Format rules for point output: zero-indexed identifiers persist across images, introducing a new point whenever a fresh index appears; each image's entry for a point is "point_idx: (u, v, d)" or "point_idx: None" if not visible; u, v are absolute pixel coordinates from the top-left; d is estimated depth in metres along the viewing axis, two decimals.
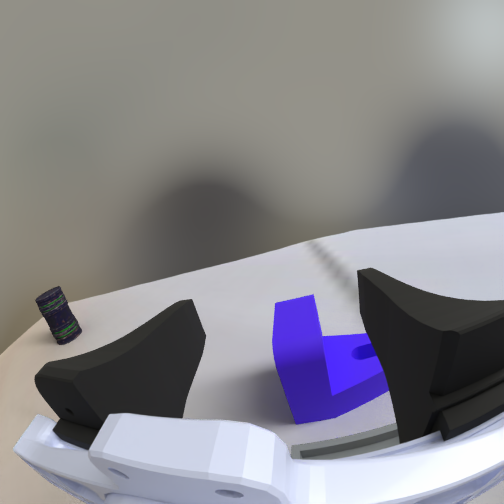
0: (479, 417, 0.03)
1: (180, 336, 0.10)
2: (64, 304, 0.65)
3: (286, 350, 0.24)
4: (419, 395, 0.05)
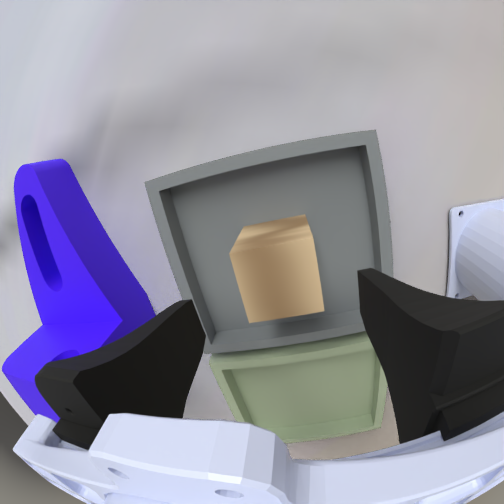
0: (479, 417, 0.03)
1: (180, 336, 0.10)
2: None
3: None
4: (419, 395, 0.05)
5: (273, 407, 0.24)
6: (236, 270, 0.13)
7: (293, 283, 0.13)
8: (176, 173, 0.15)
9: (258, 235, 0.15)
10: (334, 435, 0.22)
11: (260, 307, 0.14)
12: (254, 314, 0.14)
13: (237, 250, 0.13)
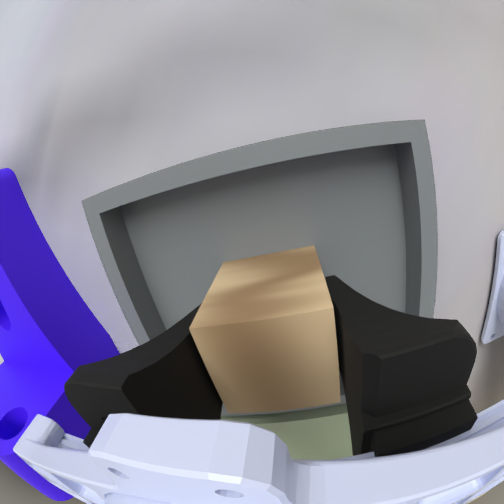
0: (418, 443, 0.04)
1: None
2: None
3: (52, 489, 0.07)
4: (357, 412, 0.05)
5: None
6: (203, 352, 0.08)
7: (296, 371, 0.08)
8: (120, 187, 0.10)
9: (241, 287, 0.09)
10: None
11: (244, 398, 0.08)
12: (234, 405, 0.09)
13: (203, 322, 0.08)
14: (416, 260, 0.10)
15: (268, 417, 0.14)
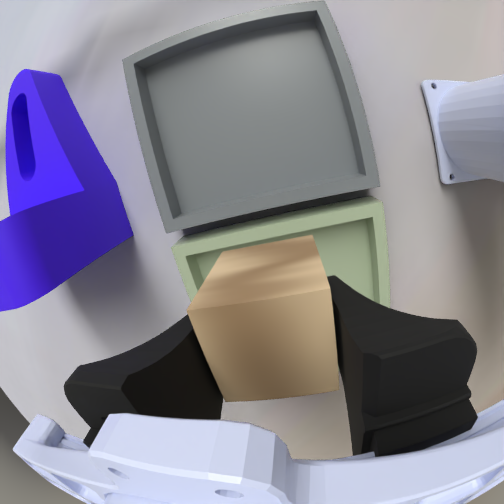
0: (418, 443, 0.04)
1: None
2: None
3: (23, 279, 0.10)
4: (357, 412, 0.05)
5: None
6: (200, 335, 0.08)
7: (293, 356, 0.08)
8: (150, 47, 0.13)
9: (239, 272, 0.09)
10: None
11: (241, 385, 0.08)
12: (232, 392, 0.09)
13: (200, 304, 0.08)
14: (338, 74, 0.14)
15: (245, 228, 0.18)
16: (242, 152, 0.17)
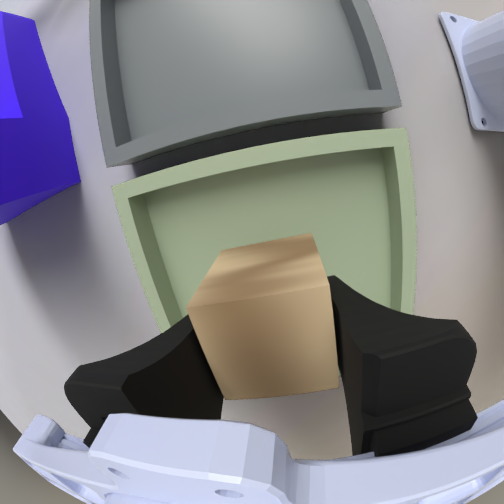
0: (418, 443, 0.04)
1: None
2: None
3: None
4: (357, 412, 0.05)
5: None
6: (199, 332, 0.08)
7: (293, 353, 0.08)
8: None
9: (238, 270, 0.09)
10: None
11: (240, 383, 0.08)
12: (231, 390, 0.09)
13: (199, 301, 0.08)
14: None
15: None
16: (214, 65, 0.11)
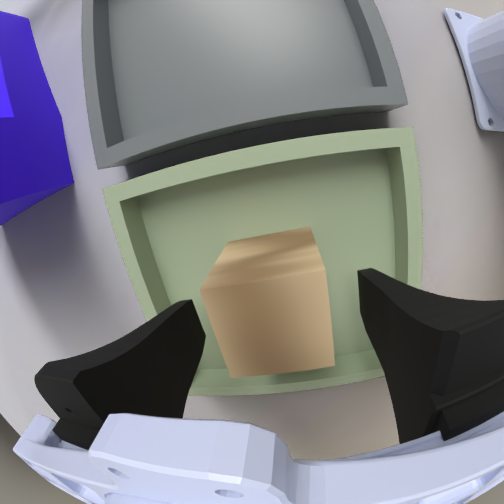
0: (479, 417, 0.03)
1: (180, 337, 0.10)
2: None
3: None
4: (419, 395, 0.05)
5: None
6: (210, 313, 0.09)
7: (293, 332, 0.09)
8: None
9: (244, 259, 0.11)
10: (330, 382, 0.14)
11: (246, 360, 0.10)
12: (237, 368, 0.10)
13: (211, 285, 0.09)
14: None
15: None
16: (210, 61, 0.10)
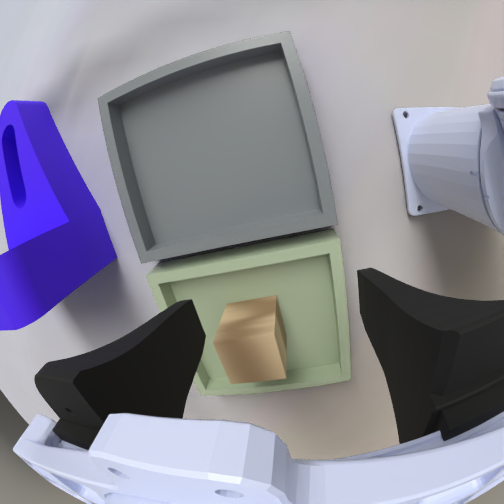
0: (479, 417, 0.03)
1: (180, 336, 0.10)
2: None
3: (19, 306, 0.12)
4: (419, 395, 0.05)
5: None
6: (218, 352, 0.17)
7: (261, 361, 0.17)
8: (121, 86, 0.15)
9: (236, 321, 0.19)
10: (295, 386, 0.22)
11: (238, 375, 0.18)
12: (234, 379, 0.18)
13: (218, 339, 0.17)
14: (300, 111, 0.15)
15: (210, 261, 0.19)
16: (208, 189, 0.19)
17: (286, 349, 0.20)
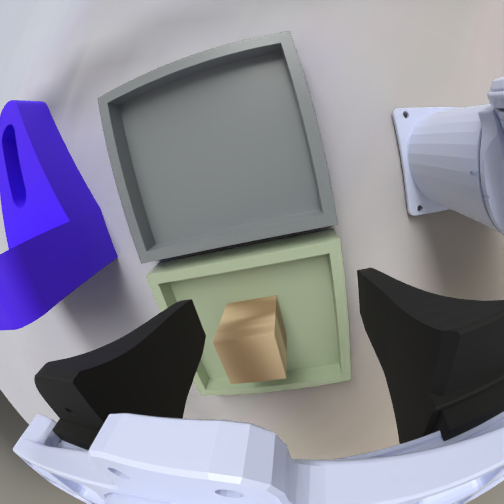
0: (479, 417, 0.03)
1: (180, 336, 0.10)
2: None
3: (19, 306, 0.12)
4: (419, 395, 0.05)
5: None
6: (218, 352, 0.17)
7: (261, 361, 0.17)
8: (121, 86, 0.15)
9: (236, 321, 0.19)
10: (295, 386, 0.22)
11: (238, 375, 0.18)
12: (234, 379, 0.18)
13: (218, 339, 0.17)
14: (300, 111, 0.15)
15: (210, 261, 0.19)
16: (208, 189, 0.19)
17: (286, 349, 0.20)
